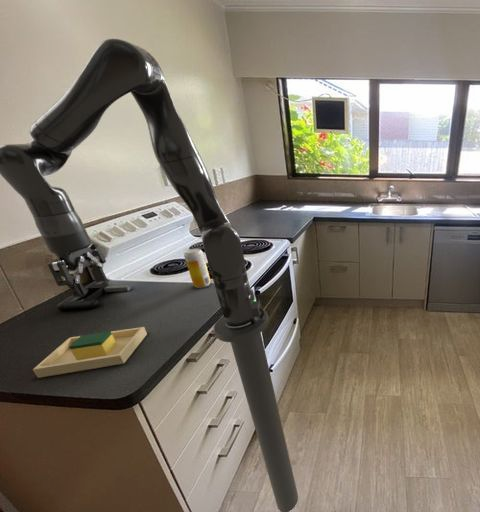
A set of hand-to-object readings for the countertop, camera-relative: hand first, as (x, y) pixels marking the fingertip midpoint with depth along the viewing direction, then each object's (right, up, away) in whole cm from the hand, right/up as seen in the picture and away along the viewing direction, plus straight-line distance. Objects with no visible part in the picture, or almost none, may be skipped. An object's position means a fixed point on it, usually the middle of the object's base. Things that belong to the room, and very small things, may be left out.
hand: (91, 288), depth 77 cm
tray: (-1, -19, +3) cm, 19 cm away
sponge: (-1, -18, +3) cm, 18 cm away
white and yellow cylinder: (+5, -3, +39) cm, 40 cm away
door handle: (-29, -7, +32) cm, 44 cm away
